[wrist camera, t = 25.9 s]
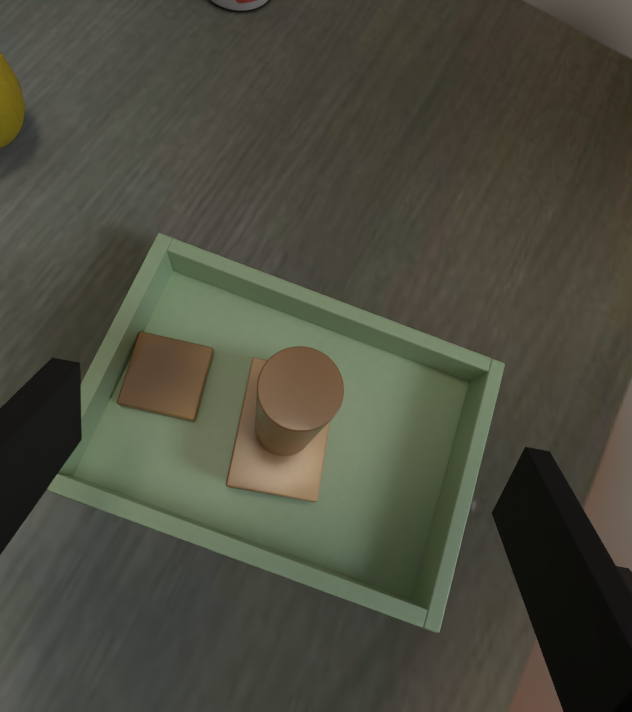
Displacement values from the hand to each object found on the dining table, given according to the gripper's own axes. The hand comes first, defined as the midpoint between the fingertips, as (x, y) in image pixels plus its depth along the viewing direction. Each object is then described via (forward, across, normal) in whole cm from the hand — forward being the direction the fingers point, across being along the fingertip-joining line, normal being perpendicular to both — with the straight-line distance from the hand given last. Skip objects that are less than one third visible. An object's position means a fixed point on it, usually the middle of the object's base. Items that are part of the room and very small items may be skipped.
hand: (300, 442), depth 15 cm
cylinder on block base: (+10, 0, -7) cm, 12 cm away
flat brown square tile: (+11, -7, -6) cm, 14 cm away
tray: (+10, 0, -7) cm, 13 cm away
